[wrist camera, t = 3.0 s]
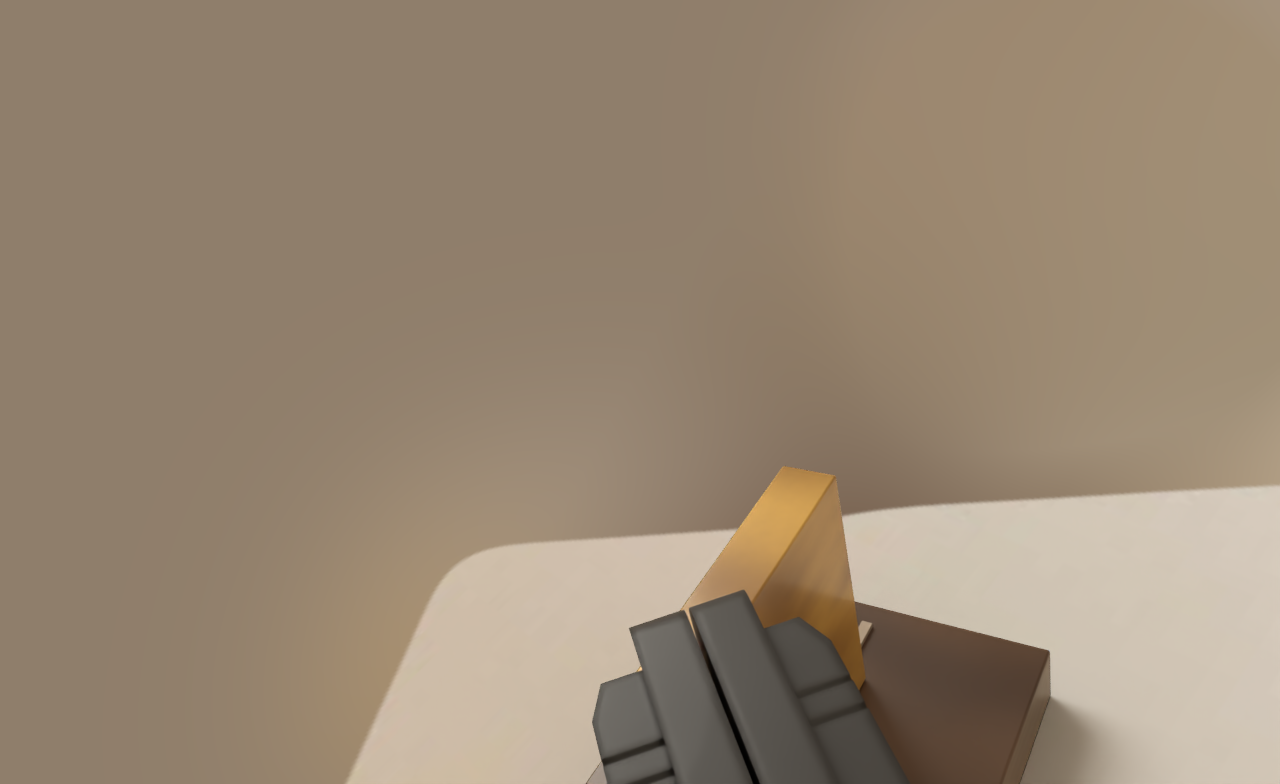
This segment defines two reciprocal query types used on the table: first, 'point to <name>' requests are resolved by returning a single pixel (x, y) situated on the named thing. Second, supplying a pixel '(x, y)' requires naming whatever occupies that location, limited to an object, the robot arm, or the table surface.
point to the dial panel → (948, 698)
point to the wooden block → (792, 563)
